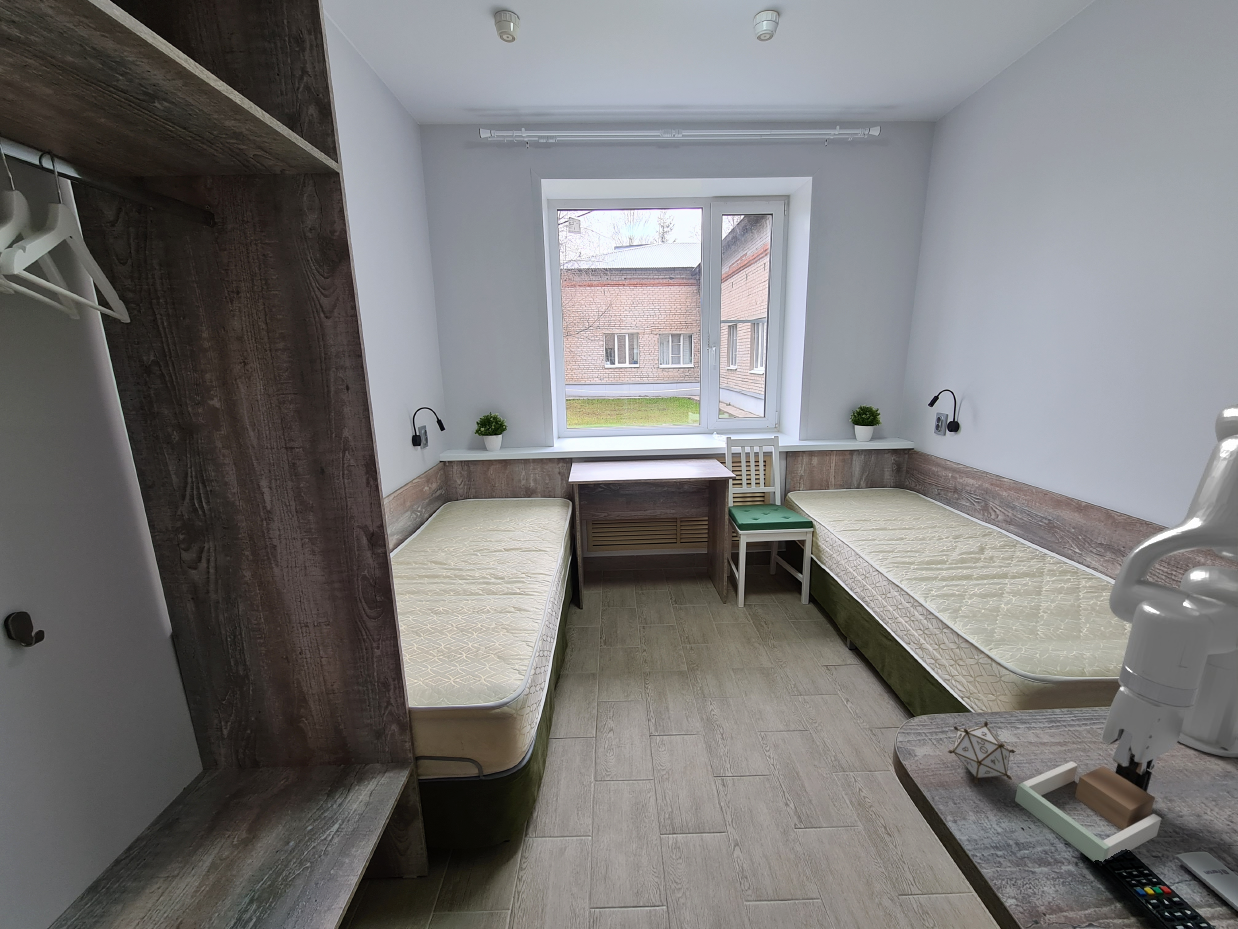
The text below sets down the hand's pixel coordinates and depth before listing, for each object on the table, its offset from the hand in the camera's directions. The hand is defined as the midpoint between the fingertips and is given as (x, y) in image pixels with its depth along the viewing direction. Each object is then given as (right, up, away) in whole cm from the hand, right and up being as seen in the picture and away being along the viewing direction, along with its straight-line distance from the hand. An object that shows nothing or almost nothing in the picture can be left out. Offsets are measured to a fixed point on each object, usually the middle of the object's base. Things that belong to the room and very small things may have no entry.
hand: (1129, 787), depth 75 cm
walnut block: (-5, -2, -2) cm, 5 cm away
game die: (-20, -1, +5) cm, 21 cm away
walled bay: (-10, -2, -3) cm, 11 cm away
